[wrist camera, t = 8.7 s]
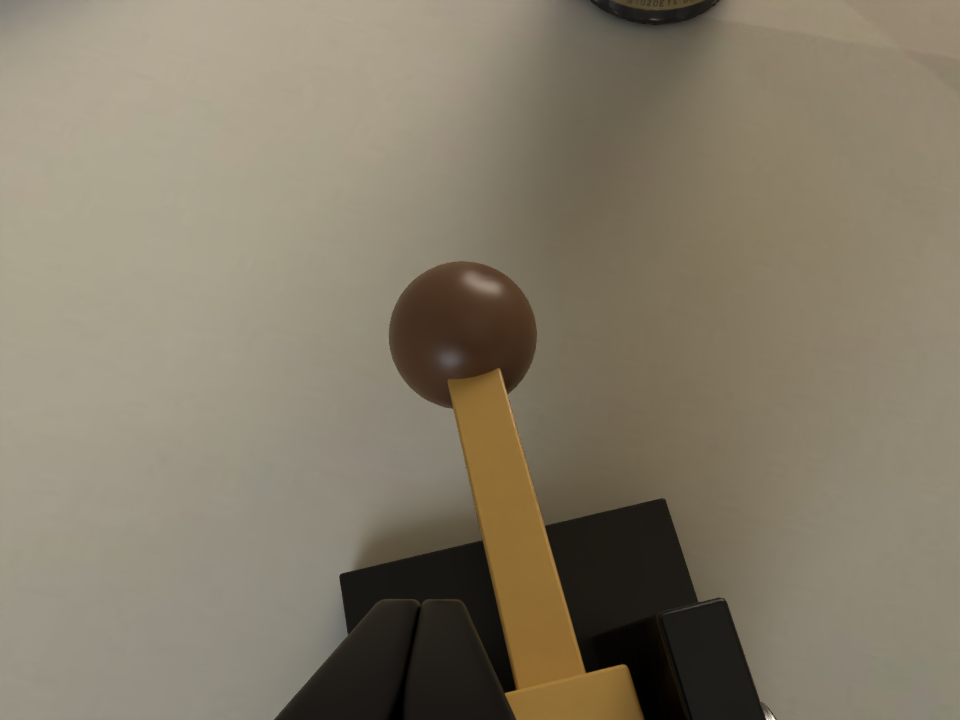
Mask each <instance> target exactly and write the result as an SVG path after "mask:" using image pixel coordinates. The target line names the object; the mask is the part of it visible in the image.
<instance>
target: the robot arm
mask: <svg viewBox="0 0 960 720" xmlns="http://www.w3.org/2000/svg"><path fill="white" fill-rule="evenodd" d="M274 720H516V717H515V715H514V713H513V711H512V709H511V706H510V704H509V702H508V700H507V697H506V695H505V693H504V691H503V689H502V686H501V684H500V682H499V680H498V678H497V675H496V673H495V671H494V669H493V666H492V664H491V662H490V660H489V658H488V655H487V653H486V651H485V649H484V647H483V644H482V642H481V640H480V638H479V636H478V633H477V631H476V629H475V627H474V624H473V622H472V620H471V618H470V616H469V613H468V611H467V609H466V607H465V605H464V604H463V602H462V601H460V600H457V599H428V600H425V601H424V602H423V603H422V605H420V603H419V602H418V601H417V600H414V599H384V600H381V601H379V602H377V603H376V604H375V605H374V607H373V608H372V609H371V610H370V611H369V612H368V613H367V615H366V616H365V617H364V618H363V619H362V620H361V621H360V622H359V624H358V625H357V626H356V627H355V628H354V629H353V630H352V632H351V633H350V634H349V635H348V636H347V637H346V638H345V640H344V641H343V642H342V643H341V644H340V645H339V646H338V648H337V649H336V650H335V651H334V652H333V653H332V654H331V655H330V657H329V658H328V659H327V660H326V661H325V662H324V663H323V665H322V666H321V667H320V668H319V669H318V670H317V671H316V673H315V674H314V675H313V676H312V677H311V678H310V679H309V680H308V682H307V683H306V684H305V685H304V686H303V687H302V688H301V690H300V691H299V692H298V693H297V694H296V695H295V696H294V698H293V699H292V700H291V701H290V702H289V703H288V704H287V705H286V707H285V708H284V709H283V710H282V711H281V712H280V713H279V715H278V716H277V717H276V718H275V719H274Z"/></svg>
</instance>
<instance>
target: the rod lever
mask: <svg viewBox="0 0 960 720" xmlns="http://www.w3.org/2000/svg"><path fill="white" fill-rule="evenodd" d="M536 341H537V330H536V322H535V318H534V314H533V311H532V308H531V306H530V304H529V301H528V300H527V298H526V297H525V295H524V293H523V292H522V290H521V289H520V288H519V287H518V286H517V285H516V284H515V283H514V282H513V281H512V280H511V279H510V278H509V277H508V276H506V275H505V274H503V273H501V272H500V271H498V270H496V269H494V268H492V267H490V266H487V265H484V264H479V263H475V262H464V261H460V262H451V263H446V264H442V265H439V266H436V267H434V268H431V269H429V270H427V271H426V272H424V273H423V274H421V275H420V276H418V277H417V278H416V279H414V280H413V281H412V282H411V283H410V284H409V285H408V287H407V288H406V289H405V290H404V292H403V293H402V294H401V296H400V297H399V299H398V301H397V303H396V305H395V308H394V310H393V313H392V317H391V321H390V326H389V344H390V350H391V354H392V358H393V361H394V363H395V365H396V368H397V370H398V372H399V373H400V375H401V376H402V378H403V379H404V381H405V382H406V383H407V384H408V385H409V387H410V388H411V389H413V390H414V391H415V392H416V393H417V394H419V395H420V396H421V397H423V398H424V399H426V400H428V401H430V402H432V403H434V404H437V405H439V406H443V407H446V408H452V409H454V414H455V418H456V423H457V427H458V432H459V436H460V441H461V445H462V450H463V454H464V459H465V463H466V468H467V472H468V477H469V481H470V486H471V490H472V495H473V499H474V504H475V508H476V513H477V517H478V521H479V526H480V530H481V535H482V539H483V544H484V548H485V553H486V557H487V562H488V566H489V571H490V575H491V580H492V584H493V589H494V593H495V598H496V602H497V607H498V611H499V616H500V620H501V625H502V629H503V633H504V638H505V642H506V647H507V651H508V656H509V660H510V665H511V669H512V674H513V678H514V683H515V687H516V691H511V692H507V693H505V695H506V697H507V700H508V702H509V704H510V706H511V709H512V711H513V713H514V715H515V717H516V720H645V719H644V716H643V712H642V709H641V706H640V703H639V700H638V697H637V693H636V690H635V687H634V684H633V681H632V678H631V674H630V671H629V668H628V667H627V666H626V665H617V666H613V667H609V668H605V669H601V670H597V671H593V672H589V673H586V671H585V668H584V664H583V661H582V657H581V654H580V650H579V646H578V643H577V639H576V636H575V632H574V629H573V625H572V622H571V618H570V614H569V611H568V607H567V604H566V600H565V597H564V593H563V590H562V586H561V582H560V579H559V575H558V572H557V568H556V565H555V561H554V558H553V554H552V550H551V547H550V543H549V540H548V536H547V533H546V529H545V526H544V522H543V518H542V515H541V511H540V508H539V504H538V501H537V497H536V494H535V490H534V486H533V483H532V479H531V476H530V472H529V469H528V465H527V462H526V458H525V454H524V451H523V447H522V444H521V440H520V437H519V433H518V430H517V426H516V422H515V419H514V415H513V412H512V408H511V405H510V401H509V398H508V394H509V393H510V392H511V391H512V390H513V389H514V388H515V387H516V386H517V385H518V384H519V383H520V382H521V381H522V379H523V378H524V376H525V375H526V373H527V371H528V369H529V367H530V365H531V363H532V360H533V357H534V353H535V349H536Z"/></svg>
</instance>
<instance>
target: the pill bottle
mask: <svg viewBox="0 0 960 720" xmlns="http://www.w3.org/2000/svg"><path fill="white" fill-rule="evenodd" d="M718 1H719V0H591V2H592V3H593V4H595V5H596V6H598V7H599V8H600V9H601V10H603V11H605V12H607V13H610V14H613V15H615V16H617V17H618V18H620V19H625V20H628V21H631V22H637V23H643V24H654V25H657V24H663V23H673V22H680V21H683V20H687V19H690V18H692V17H695V16H696V15H698V14H701V13H703V12H704V11H706V10H707V9H709V8H710V7H712V6H714V5H715V4H716V3H717V2H718Z"/></svg>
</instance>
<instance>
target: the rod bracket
mask: <svg viewBox="0 0 960 720" xmlns="http://www.w3.org/2000/svg"><path fill="white" fill-rule="evenodd" d="M545 529H546V533H547V536H548V540H549V543H550V547H551V550H552V554H553V558H554V561H555V565H556V568H557V572H558V575H559V579H560V582H561V586H562V590H563V593H564V597H565V600H566V604H567V607H568V611H569V614H570V618H571V622H572V625H573V629H574V632H575V636H576V639H577V643H578V646H579V650H580V654H581V657H582V661H583V664H584V668H585V671H586V673H589V672H593V671H597V670H601V669H605V668H609V667H613V666H617V665H626V666H627V667H628V668H629V671H630V674H631V678H632V681H633V684H634V687H635V690H636V693H637V697H638V700H639V703H640V706H641V709H642V712H643V716H644V719H645V720H776V718H775V716H774V715H773V713H772V712H771V711H770V709H769V708H768V707H767V706H766V705H765V704H764V703H763V702H760V700H759V697H758V694H757V691H756V688H755V685H754V682H753V679H752V676H751V673H750V670H749V667H748V664H747V661H746V658H745V655H744V652H743V649H742V646H741V643H740V640H739V637H738V634H737V631H736V628H735V625H734V622H733V619H732V616H731V613H730V610H729V607H728V604H727V602H726V600H725V599H724V598H715V599H711V600H707V601H703V602H699V603H698V600H697V597H696V593H695V590H694V587H693V584H692V581H691V578H690V575H689V572H688V568H687V565H686V562H685V559H684V556H683V553H682V550H681V547H680V544H679V540H678V537H677V534H676V531H675V528H674V525H673V522H672V519H671V515H670V512H669V509H668V506H667V503H666V500H665V499H663V498H661V499H657V500H653V501H649V502H644V503H640V504H636V505H632V506H627V507H623V508H619V509H615V510H610V511H606V512H602V513H597V514H593V515H589V516H585V517H580V518H576V519H572V520H568V521H563V522H559V523H555V524H551V525H546V526H545ZM339 578H340V585H341V591H342V598H343V605H344V612H345V618H346V625H347V632H348V635H349V634H350V633H351V632H352V630H353V629H354V628H355V627H356V626H357V625H358V624H359V622H360V621H361V620H362V619H363V618H364V617H365V616H366V615H367V613H368V612H369V611H370V610H371V609H372V608H373V607H374V605H375V604H376V603H377V602H379V601H381V600H384V599H414V600H417V601H418V602H419V603H420V605H422V603H423V602H424V601H425V600H428V599H457V600H460V601H462V602H463V604H464V605H465V607H466V609H467V611H468V613H469V616H470V618H471V620H472V622H473V624H474V627H475V629H476V631H477V633H478V636H479V638H480V640H481V642H482V644H483V647H484V649H485V651H486V653H487V655H488V658H489V660H490V662H491V664H492V666H493V669H494V671H495V673H496V675H497V678H498V680H499V682H500V684H501V686H502V689H503V691H504V693H507V692H511V691H516V687H515V683H514V678H513V674H512V669H511V665H510V660H509V656H508V651H507V647H506V642H505V638H504V633H503V629H502V625H501V620H500V616H499V611H498V607H497V602H496V598H495V593H494V589H493V584H492V580H491V575H490V571H489V566H488V562H487V557H486V553H485V548H484V544H483V540H482V541H478V542H474V543H470V544H465V545H461V546H457V547H453V548H448V549H444V550H440V551H436V552H431V553H427V554H423V555H418V556H414V557H410V558H406V559H401V560H397V561H393V562H389V563H384V564H380V565H376V566H372V567H367V568H363V569H359V570H355V571H350V572H346V573H342V574H340V577H339Z"/></svg>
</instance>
